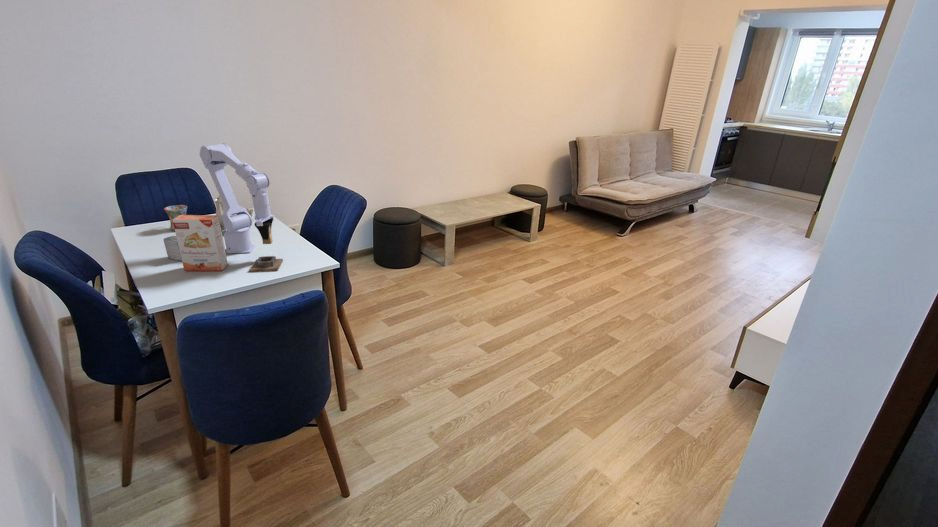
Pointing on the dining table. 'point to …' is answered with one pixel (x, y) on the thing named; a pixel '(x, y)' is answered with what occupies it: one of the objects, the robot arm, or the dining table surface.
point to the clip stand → (266, 264)
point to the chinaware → (221, 209)
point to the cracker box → (200, 242)
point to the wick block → (269, 238)
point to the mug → (175, 213)
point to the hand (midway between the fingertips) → (266, 237)
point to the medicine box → (172, 248)
